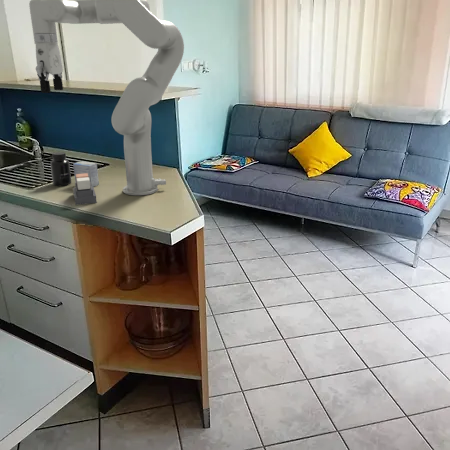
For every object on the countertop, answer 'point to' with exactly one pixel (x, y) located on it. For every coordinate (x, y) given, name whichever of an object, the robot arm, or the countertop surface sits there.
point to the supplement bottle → (60, 169)
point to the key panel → (84, 195)
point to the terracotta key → (81, 175)
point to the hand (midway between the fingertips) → (52, 91)
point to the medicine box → (87, 171)
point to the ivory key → (83, 183)
